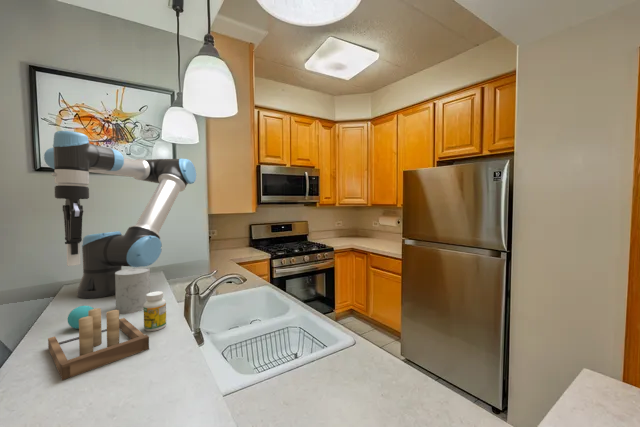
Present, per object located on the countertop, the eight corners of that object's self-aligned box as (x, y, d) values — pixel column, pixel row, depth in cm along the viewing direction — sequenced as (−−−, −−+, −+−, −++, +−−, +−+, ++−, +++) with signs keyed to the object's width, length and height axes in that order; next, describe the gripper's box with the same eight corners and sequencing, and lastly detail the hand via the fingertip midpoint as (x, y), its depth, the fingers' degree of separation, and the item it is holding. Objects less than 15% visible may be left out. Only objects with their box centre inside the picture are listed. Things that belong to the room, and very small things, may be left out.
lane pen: (48, 348, 65) (48, 336, 65) (124, 326, 77) (124, 316, 76) (62, 380, 53) (61, 365, 53) (149, 348, 65) (148, 336, 65)
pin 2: (105, 346, 66) (105, 312, 66) (117, 342, 68) (117, 309, 67) (108, 350, 64) (107, 314, 64) (120, 346, 66) (120, 311, 66)
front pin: (87, 344, 67) (87, 310, 66) (100, 340, 69) (99, 307, 68) (90, 347, 65) (89, 312, 65) (102, 344, 67) (102, 309, 67)
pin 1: (78, 355, 62) (77, 318, 62) (92, 351, 64) (91, 315, 64) (80, 359, 60) (80, 321, 60) (94, 354, 62) (93, 318, 62)
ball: (65, 328, 75) (65, 306, 75) (93, 321, 80) (93, 300, 80) (70, 334, 72) (69, 312, 71) (98, 327, 76) (98, 305, 76)
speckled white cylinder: (156, 303, 95) (156, 268, 94) (135, 314, 85) (135, 275, 85) (131, 302, 96) (130, 267, 95) (107, 312, 86) (106, 274, 86)
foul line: (54, 344, 67) (54, 343, 67) (117, 326, 77) (117, 325, 77) (54, 345, 66) (54, 344, 66) (118, 327, 76) (118, 326, 76)
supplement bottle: (170, 324, 78) (170, 291, 78) (155, 332, 73) (155, 297, 73) (154, 322, 80) (154, 289, 79) (138, 330, 74) (138, 295, 74)
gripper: (51, 185, 82) (52, 263, 82) (58, 183, 73) (60, 270, 74) (83, 186, 87) (85, 260, 88) (94, 185, 79) (95, 266, 80)
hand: (73, 264), depth 81 cm, fingers closed
